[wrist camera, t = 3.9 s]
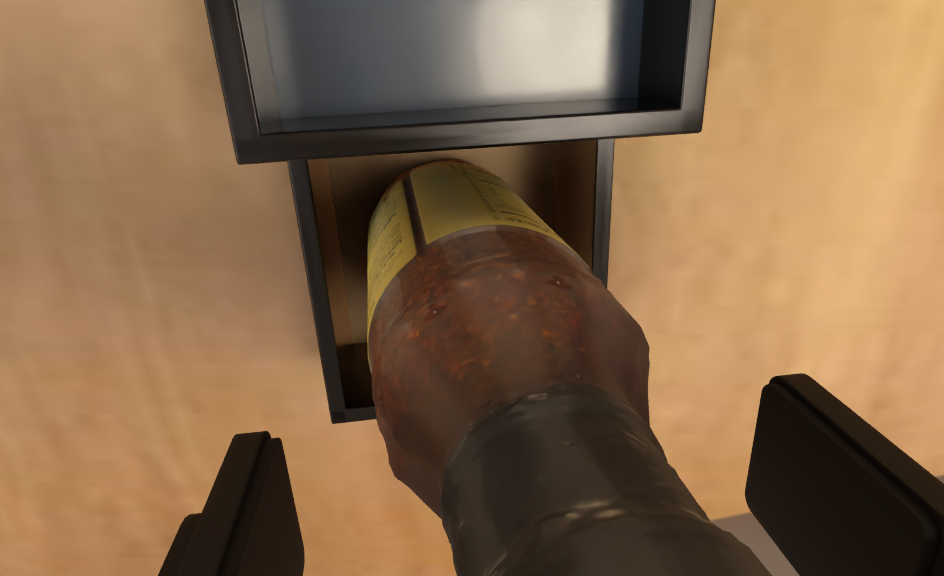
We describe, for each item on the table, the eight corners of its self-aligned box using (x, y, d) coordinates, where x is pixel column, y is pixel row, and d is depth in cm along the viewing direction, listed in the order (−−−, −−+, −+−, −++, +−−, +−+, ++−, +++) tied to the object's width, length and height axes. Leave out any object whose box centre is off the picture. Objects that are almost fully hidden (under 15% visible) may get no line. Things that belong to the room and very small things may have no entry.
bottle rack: (341, 356, 26) (313, 543, 17) (243, -287, 17) (64, -679, 8) (566, 333, 27) (663, 496, 18) (579, -285, 18) (786, -631, 9)
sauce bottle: (419, 321, 26) (493, 988, 8) (338, 203, 23) (166, 779, 5) (550, 247, 25) (957, 780, 7) (481, 117, 23) (838, 435, 5)
